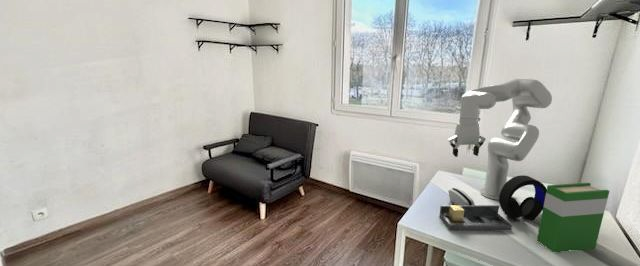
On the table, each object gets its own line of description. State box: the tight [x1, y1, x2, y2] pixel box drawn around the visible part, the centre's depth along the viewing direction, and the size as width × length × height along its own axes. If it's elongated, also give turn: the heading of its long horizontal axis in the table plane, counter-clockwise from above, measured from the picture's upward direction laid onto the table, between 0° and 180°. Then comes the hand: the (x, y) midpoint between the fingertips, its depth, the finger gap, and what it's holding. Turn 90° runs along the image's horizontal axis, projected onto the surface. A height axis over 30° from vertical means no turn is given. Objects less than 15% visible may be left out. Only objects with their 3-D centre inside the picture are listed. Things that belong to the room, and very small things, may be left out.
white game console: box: [447, 187, 476, 205], centre depth 139 cm, size 17×5×10 cm, turn 8°
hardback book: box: [536, 182, 610, 254], centre depth 108 cm, size 18×7×24 cm, turn 97°
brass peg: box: [448, 204, 464, 223], centre depth 124 cm, size 4×4×8 cm
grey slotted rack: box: [438, 204, 513, 232], centre depth 125 cm, size 26×11×6 cm, turn 89°
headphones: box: [498, 175, 547, 222], centre depth 127 cm, size 19×7×20 cm, turn 94°
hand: (465, 155), depth 136 cm, fingers open, 9 cm apart
